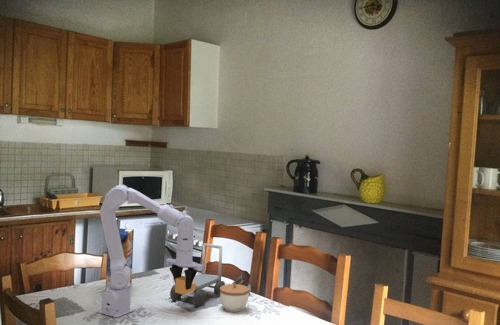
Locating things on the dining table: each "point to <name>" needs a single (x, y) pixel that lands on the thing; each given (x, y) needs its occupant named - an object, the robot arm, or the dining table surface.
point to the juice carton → (127, 247)
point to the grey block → (242, 282)
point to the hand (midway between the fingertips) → (183, 287)
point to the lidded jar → (234, 297)
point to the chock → (183, 286)
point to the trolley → (203, 280)
